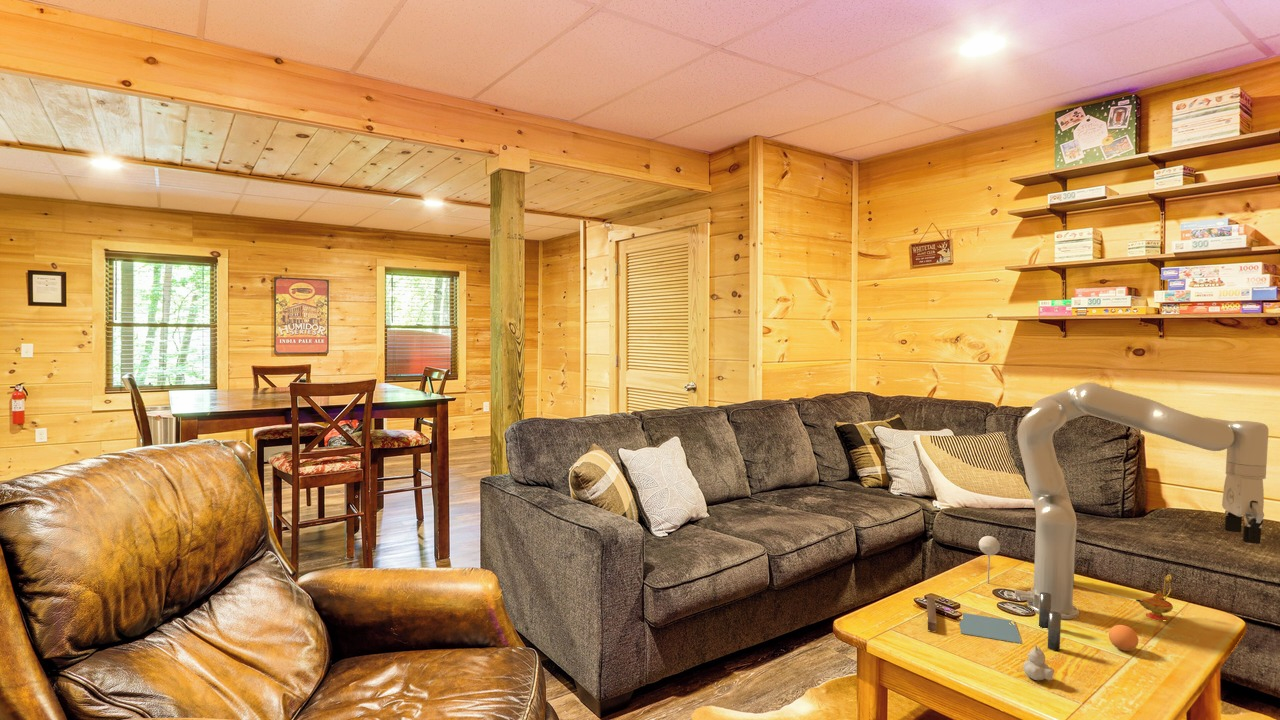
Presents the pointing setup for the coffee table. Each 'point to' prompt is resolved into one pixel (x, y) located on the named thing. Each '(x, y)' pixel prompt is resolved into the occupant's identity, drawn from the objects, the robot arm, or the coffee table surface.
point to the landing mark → (989, 628)
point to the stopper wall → (931, 613)
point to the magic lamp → (1157, 603)
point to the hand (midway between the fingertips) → (1241, 536)
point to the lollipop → (989, 548)
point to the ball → (1123, 637)
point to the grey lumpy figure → (1037, 666)
